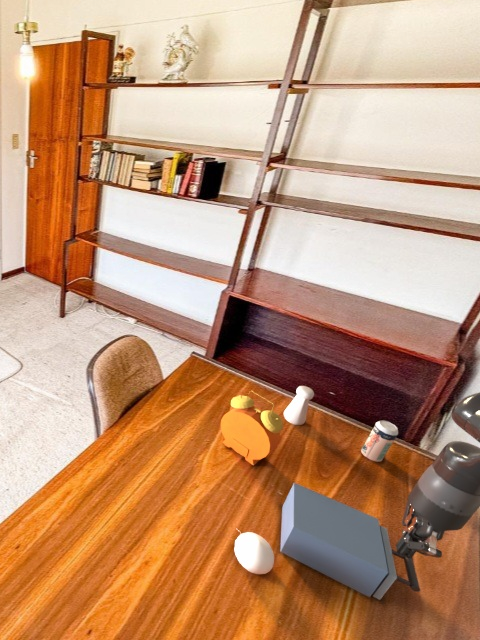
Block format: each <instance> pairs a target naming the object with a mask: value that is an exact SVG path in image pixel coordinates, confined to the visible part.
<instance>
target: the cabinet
mask: <svg viewBox="0 0 480 640" xmlns="http://www.w3.org/2000/svg"><path fill="white" fill-rule="evenodd" d="M380 526H381V525H380V519H379V518H378V517H374V516H373V515H370V514H367V513H366V512H363V511H361V510H359V509H356V508H354V507H352V506H349V505H347V504H345V503H342V502H341V501H338V500H336V499H333V498H331V497H328V496H327V495H324V494H322V493H320V492H317V491H315V490H312V489H310V488H307V487H306V486H303V485H301V484H299V483H296V482H293V483H292V486H291V488H290V490H289V492H288V494H287V496H286V498H285V501H284V503H283V505H282V508H281V529H280V550H279V552H280V553H281V554H284V555H286V556H288V557H289V558H291V559H293V560H295V561H298V562H299V563H301V564H303V565H305V566H307V567H309V568H310V569H311V568H312V569H313V570H315V571H317V572H319V573H321V574H323V575H325V576H326V577H328V578H331V579H332V580H334V581H337V582H338V583H341V584H342V585H344V586H346V587H348V588H349V589H352V590H354V591H356V592H357V593H360V594H362V595H363V596H366V597H367V598H371V596H373V595H372V594H373V592H374V591H375V590H376V588H377V587H378V586H379V584H380V583H381V582H382V580H383V579H384V578H385V576H386V575H387V574H388V568H387V562H386V557H385V551H384V546H383V541H382V535H381V530H380Z"/></svg>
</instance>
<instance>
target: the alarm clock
mask: <svg viewBox="0 0 480 640" xmlns="http://www.w3.org/2000/svg"><path fill="white" fill-rule="evenodd" d="M251 392H252V393H253V394H255V395H257V396H258V397H260V398H262V399H264V400H265V401H267V402H268V403H270V404H272V405H273V407H272V409H271V410H270V409H267V410H264V409H262V408H260V407H259V406H256V405H255V401H254V400H253V398H252V397H250V394H251ZM230 406H231V407H232V409H231V410H229V411H228V412H226V413H225V414H223V416H222V418H221V420H220V430H221V434H222V436H223V438H224V440H223V441H221V443H222V444H224V446H226V447H227V448H231V449H232V450H234V452H236V453H237V454H239V455H241V456H242V457H243V458H244V459H245V461H246V462H247V463H249V464H251V465H252V466H255V465H256V464H257V463H258V462H259V461H261V460H262V459H264V458H266V457H268V456H269V454H271V453H272V452H273V451H274V450H275V449H276V448H277V447H278V446H279V444H280V440H281V434H280V432H281V431H282V430H283V428H284V422H283V420H282V417H281V416H280V415H279V414H278V413H276V411H274V408H275V404H274V402H271V401H270V400H269V399H267V398H265V397H263V396H262V395H260V394H258V393H257V392H255V391H253V390H250V391H249V393H248V395H241V394H239V395H238V396H234V397H232V398H231V400H230Z"/></svg>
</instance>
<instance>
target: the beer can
mask: <svg viewBox="0 0 480 640" xmlns="http://www.w3.org/2000/svg"><path fill="white" fill-rule="evenodd" d="M398 429H399V428H398V426H396V425H395V424H393V423H391V422H390V421H388V420H379V421H377V422H375V424H374V426H373V428H372V429H371V432H370V433H369V435H368V437H367V438H366V440H365V442H364V444H363V445H362V447H361V450H360V452H361V454H362V455H363V456H364V457H365V458H367V459H368V460H370V461H373V462H376V463H379V462H382V461H383V459H384V458H385V456H386V454H387V453H388V452H389V450H390V448H391V446H392V444H393V443H394V441H396V438H397V436H398V435H399V430H398Z"/></svg>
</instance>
